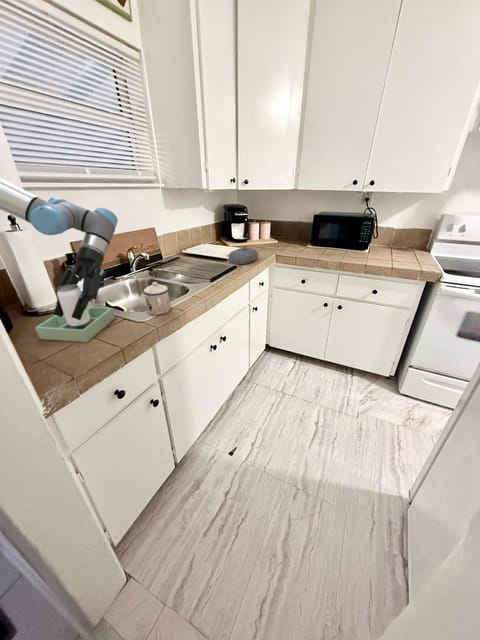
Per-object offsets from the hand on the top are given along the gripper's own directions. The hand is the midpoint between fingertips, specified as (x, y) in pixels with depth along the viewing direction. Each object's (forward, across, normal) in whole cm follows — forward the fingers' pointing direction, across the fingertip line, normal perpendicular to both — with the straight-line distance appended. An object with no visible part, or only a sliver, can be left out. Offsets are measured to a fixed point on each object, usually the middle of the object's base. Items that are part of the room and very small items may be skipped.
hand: (66, 317), depth 80 cm
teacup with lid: (-12, -15, -24) cm, 31 cm away
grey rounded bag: (-70, -27, -82) cm, 111 cm away
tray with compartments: (+1, +5, -11) cm, 12 cm away
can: (0, 0, -5) cm, 5 cm away
